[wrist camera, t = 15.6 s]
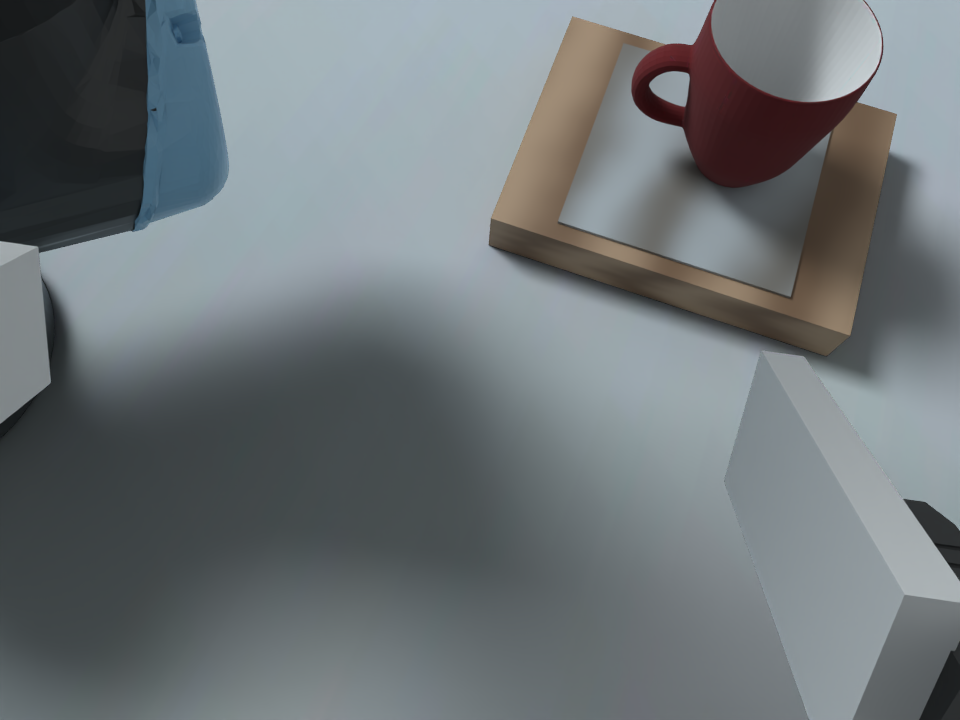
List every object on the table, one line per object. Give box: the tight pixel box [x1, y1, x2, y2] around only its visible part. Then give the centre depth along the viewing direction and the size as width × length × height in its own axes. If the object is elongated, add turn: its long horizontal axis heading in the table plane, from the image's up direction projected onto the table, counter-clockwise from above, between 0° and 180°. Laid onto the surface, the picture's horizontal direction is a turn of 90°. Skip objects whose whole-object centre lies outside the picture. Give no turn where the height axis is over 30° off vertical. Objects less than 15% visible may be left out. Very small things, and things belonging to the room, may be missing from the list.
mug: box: [631, 0, 883, 188], centre depth 43 cm, size 11×8×10 cm
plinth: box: [489, 16, 897, 356], centre depth 49 cm, size 20×15×3 cm
